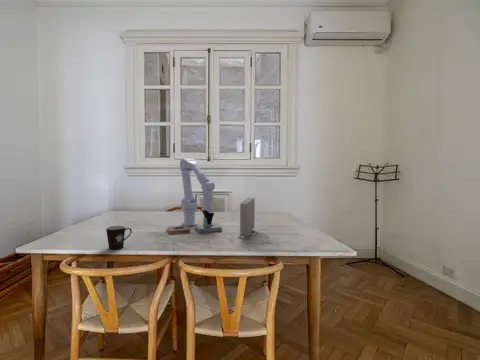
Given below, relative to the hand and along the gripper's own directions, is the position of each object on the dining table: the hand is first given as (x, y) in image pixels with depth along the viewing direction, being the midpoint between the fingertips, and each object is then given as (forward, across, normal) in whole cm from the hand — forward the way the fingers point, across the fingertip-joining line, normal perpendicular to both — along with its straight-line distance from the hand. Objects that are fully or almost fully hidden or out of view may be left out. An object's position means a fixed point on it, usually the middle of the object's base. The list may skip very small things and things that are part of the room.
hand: (208, 222), depth 186 cm
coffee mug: (+4, +26, -49) cm, 56 cm away
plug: (+4, 0, -1) cm, 4 cm away
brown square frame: (+4, 0, -18) cm, 18 cm away
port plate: (+4, 0, 0) cm, 4 cm away
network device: (+4, +20, +19) cm, 28 cm away
